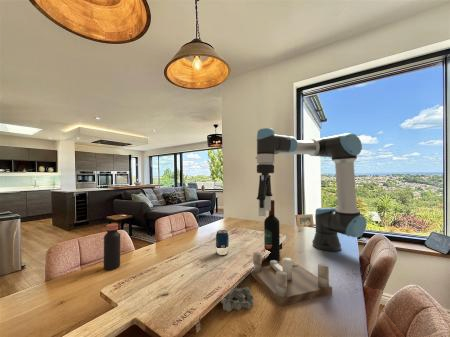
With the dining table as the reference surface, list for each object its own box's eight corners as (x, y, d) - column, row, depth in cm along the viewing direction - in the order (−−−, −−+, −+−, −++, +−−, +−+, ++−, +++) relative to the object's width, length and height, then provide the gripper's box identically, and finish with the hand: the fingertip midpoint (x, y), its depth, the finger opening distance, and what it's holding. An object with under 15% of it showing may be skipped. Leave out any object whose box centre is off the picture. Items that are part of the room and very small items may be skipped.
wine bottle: (280, 263, 100) (279, 201, 100) (264, 261, 101) (264, 201, 102) (279, 256, 107) (278, 199, 108) (264, 255, 109) (264, 199, 109)
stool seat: (294, 266, 96) (294, 246, 96) (333, 293, 75) (333, 267, 75) (250, 273, 89) (250, 252, 89) (279, 306, 68) (279, 277, 68)
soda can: (215, 251, 115) (215, 229, 115) (227, 250, 115) (227, 229, 116) (216, 256, 108) (216, 233, 108) (229, 255, 108) (229, 233, 109)
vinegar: (100, 270, 92) (100, 226, 93) (109, 264, 99) (109, 222, 100) (115, 270, 92) (115, 226, 93) (123, 264, 99) (123, 222, 99)
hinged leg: (268, 265, 91) (268, 249, 91) (275, 264, 92) (275, 248, 92) (286, 280, 78) (286, 262, 78) (294, 278, 79) (294, 260, 79)
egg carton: (222, 313, 65) (222, 300, 65) (219, 299, 72) (219, 287, 72) (255, 309, 66) (255, 297, 66) (249, 295, 74) (248, 284, 74)
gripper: (262, 165, 102) (261, 207, 102) (250, 162, 79) (249, 217, 78) (277, 165, 100) (277, 209, 99) (269, 162, 76) (269, 219, 76)
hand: (265, 213), depth 89 cm, fingers open, 13 cm apart
